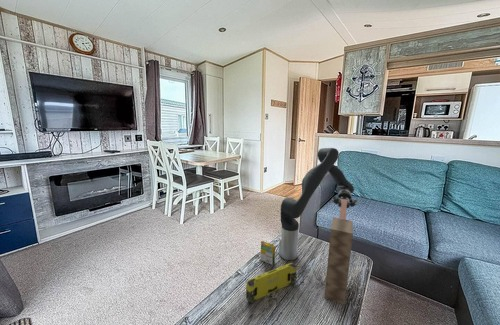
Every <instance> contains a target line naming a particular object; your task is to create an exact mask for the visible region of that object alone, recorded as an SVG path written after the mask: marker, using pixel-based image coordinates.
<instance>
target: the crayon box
mask: <svg viewBox="0 0 500 325" xmlns="http://www.w3.org/2000/svg"><path fill="white" fill-rule="evenodd" d="M259 259H260V261H262V262H265V263H267V264H270V265H271V266H273V264H274V263H275V261H276V245H275V244H274V243H273V244H272V243H270V242H267V241H263V240H260V258H259Z"/></svg>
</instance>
